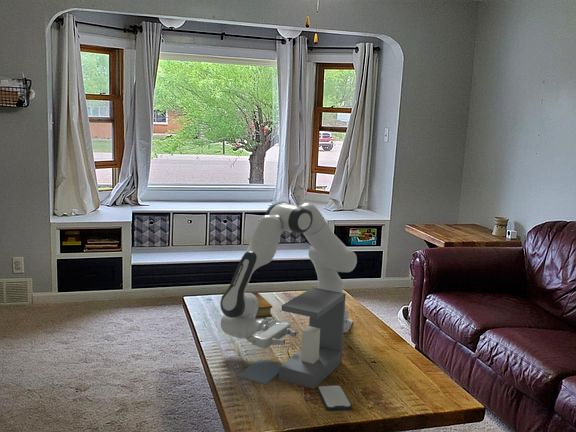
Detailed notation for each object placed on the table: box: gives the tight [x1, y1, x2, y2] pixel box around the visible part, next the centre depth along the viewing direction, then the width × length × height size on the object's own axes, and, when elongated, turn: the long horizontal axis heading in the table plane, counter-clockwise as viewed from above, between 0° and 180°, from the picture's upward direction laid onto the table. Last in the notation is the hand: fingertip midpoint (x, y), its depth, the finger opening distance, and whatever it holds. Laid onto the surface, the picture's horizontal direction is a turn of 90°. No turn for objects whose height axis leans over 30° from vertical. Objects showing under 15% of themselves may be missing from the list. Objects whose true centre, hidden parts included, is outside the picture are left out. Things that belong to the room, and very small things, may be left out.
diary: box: [250, 291, 273, 319], centre depth 275 cm, size 23×19×6 cm
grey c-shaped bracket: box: [278, 287, 346, 390], centre depth 209 cm, size 26×14×28 cm, turn 153°
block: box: [300, 325, 320, 364], centre depth 208 cm, size 5×5×12 cm
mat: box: [236, 358, 281, 385], centre depth 209 cm, size 16×12×1 cm
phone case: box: [316, 384, 353, 412], centre depth 191 cm, size 9×2×16 cm
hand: (290, 338), depth 212 cm, fingers open, 8 cm apart
